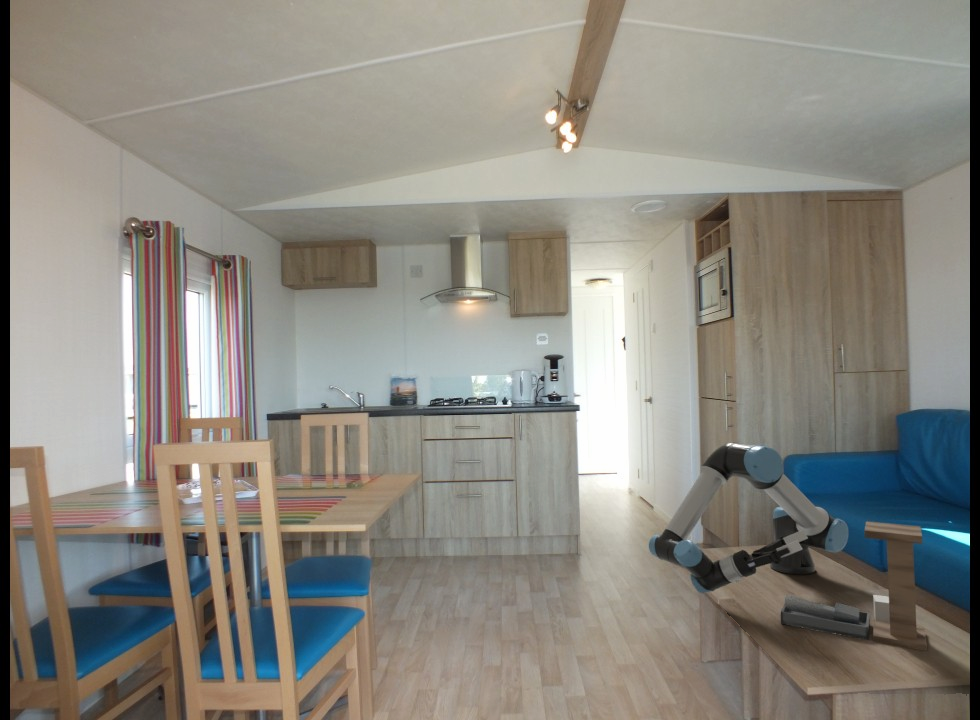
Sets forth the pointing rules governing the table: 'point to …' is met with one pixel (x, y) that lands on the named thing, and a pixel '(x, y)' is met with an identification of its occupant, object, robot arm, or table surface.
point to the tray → (828, 623)
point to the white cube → (881, 608)
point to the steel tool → (823, 610)
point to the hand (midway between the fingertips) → (802, 539)
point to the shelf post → (899, 585)
